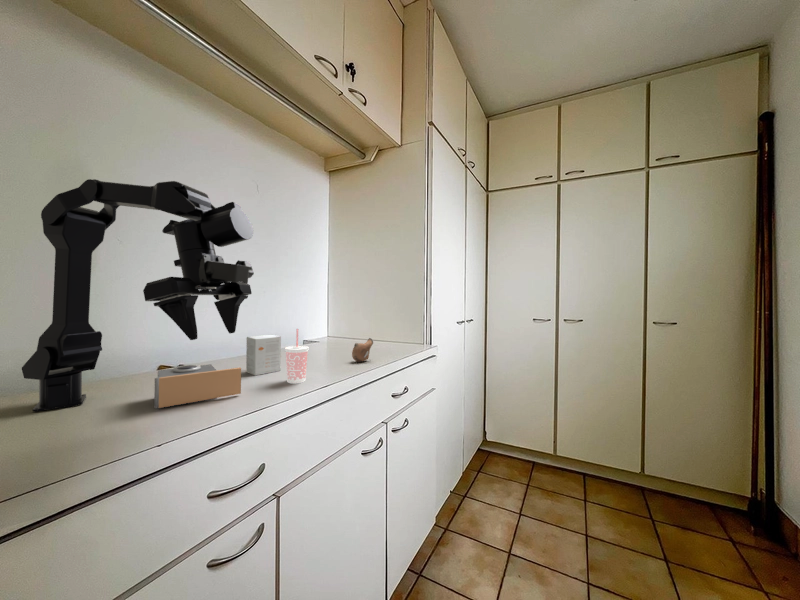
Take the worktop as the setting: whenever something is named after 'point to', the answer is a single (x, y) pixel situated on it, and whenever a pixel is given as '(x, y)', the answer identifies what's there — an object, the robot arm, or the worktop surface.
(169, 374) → the camera housing
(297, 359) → the beverage cup
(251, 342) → the small box
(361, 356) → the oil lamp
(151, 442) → the worktop surface
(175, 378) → the side door
